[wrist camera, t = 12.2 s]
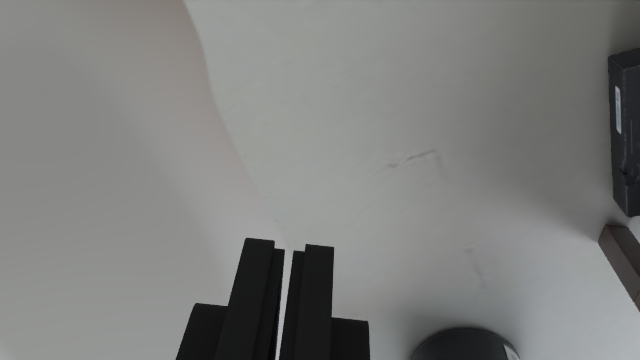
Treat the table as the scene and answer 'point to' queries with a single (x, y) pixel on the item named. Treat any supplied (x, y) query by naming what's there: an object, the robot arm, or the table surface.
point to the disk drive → (625, 129)
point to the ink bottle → (465, 346)
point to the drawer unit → (623, 258)
